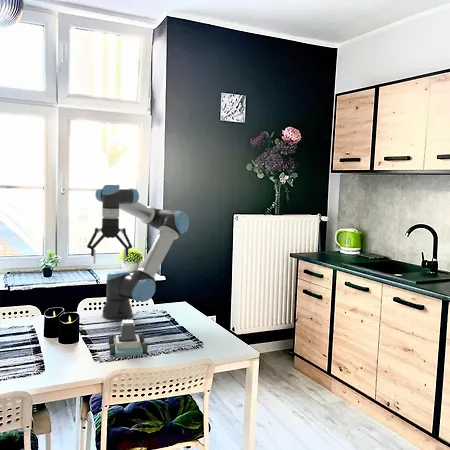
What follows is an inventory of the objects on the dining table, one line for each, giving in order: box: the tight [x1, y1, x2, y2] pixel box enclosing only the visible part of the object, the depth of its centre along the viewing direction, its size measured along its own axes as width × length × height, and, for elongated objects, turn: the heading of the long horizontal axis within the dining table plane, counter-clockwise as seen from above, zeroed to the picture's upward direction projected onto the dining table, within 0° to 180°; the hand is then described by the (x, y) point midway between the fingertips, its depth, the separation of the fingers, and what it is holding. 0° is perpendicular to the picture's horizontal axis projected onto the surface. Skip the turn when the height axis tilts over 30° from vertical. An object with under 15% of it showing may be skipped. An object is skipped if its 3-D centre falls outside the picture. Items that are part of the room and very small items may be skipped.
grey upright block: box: [120, 319, 136, 342], centre depth 201 cm, size 6×6×10 cm
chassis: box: [108, 332, 149, 357], centre depth 201 cm, size 18×15×4 cm
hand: (109, 263), depth 220 cm, fingers open, 13 cm apart
